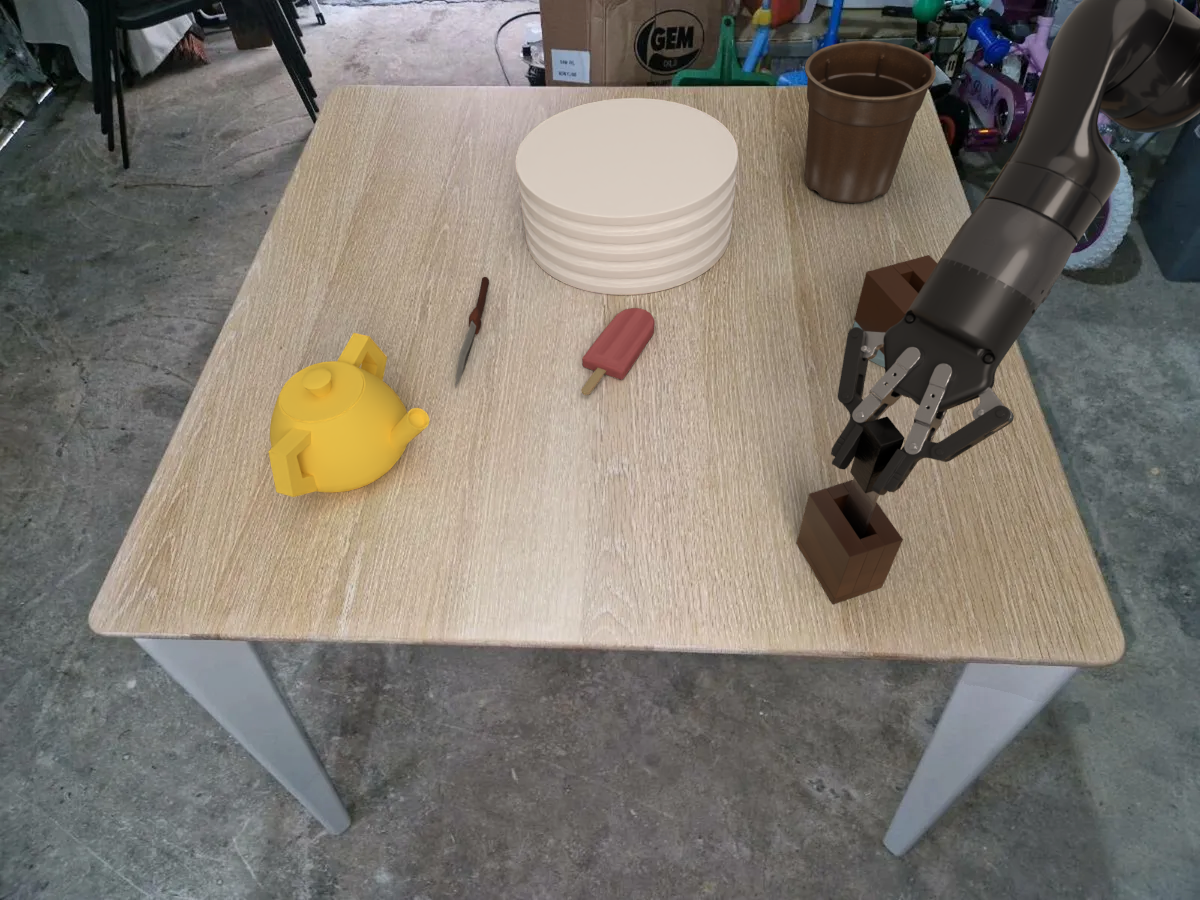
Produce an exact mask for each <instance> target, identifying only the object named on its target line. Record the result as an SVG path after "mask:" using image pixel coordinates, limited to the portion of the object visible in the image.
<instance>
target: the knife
mask: <svg viewBox="0 0 1200 900" xmlns="http://www.w3.org/2000/svg"><path fill="white" fill-rule="evenodd" d="M489 286H490V279H489V277H487V276H483V277H481V281H480V287H479V292H478V297H477V301H476V304H475V307H474V308H473V310H472V311H470V314H469V316H468V329H467V332H466V335H465V338H464V341H463V343H462V345H461V348H460V351H459V354H458V359H457V364H456V373H455V382H454V389H456V388H457V386H458V385H459V383H460V381H461V378H462V376H463V373H464V372H465V368H466V366H467V363H468V360H469V358H470V354H471V351H472V347H473V344H474V341H475V338H476V335H478V334H479V332H480V330H481V327H482V318H483V314H484V310H485V306H486V301H487V296H488V291H489Z"/></svg>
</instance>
